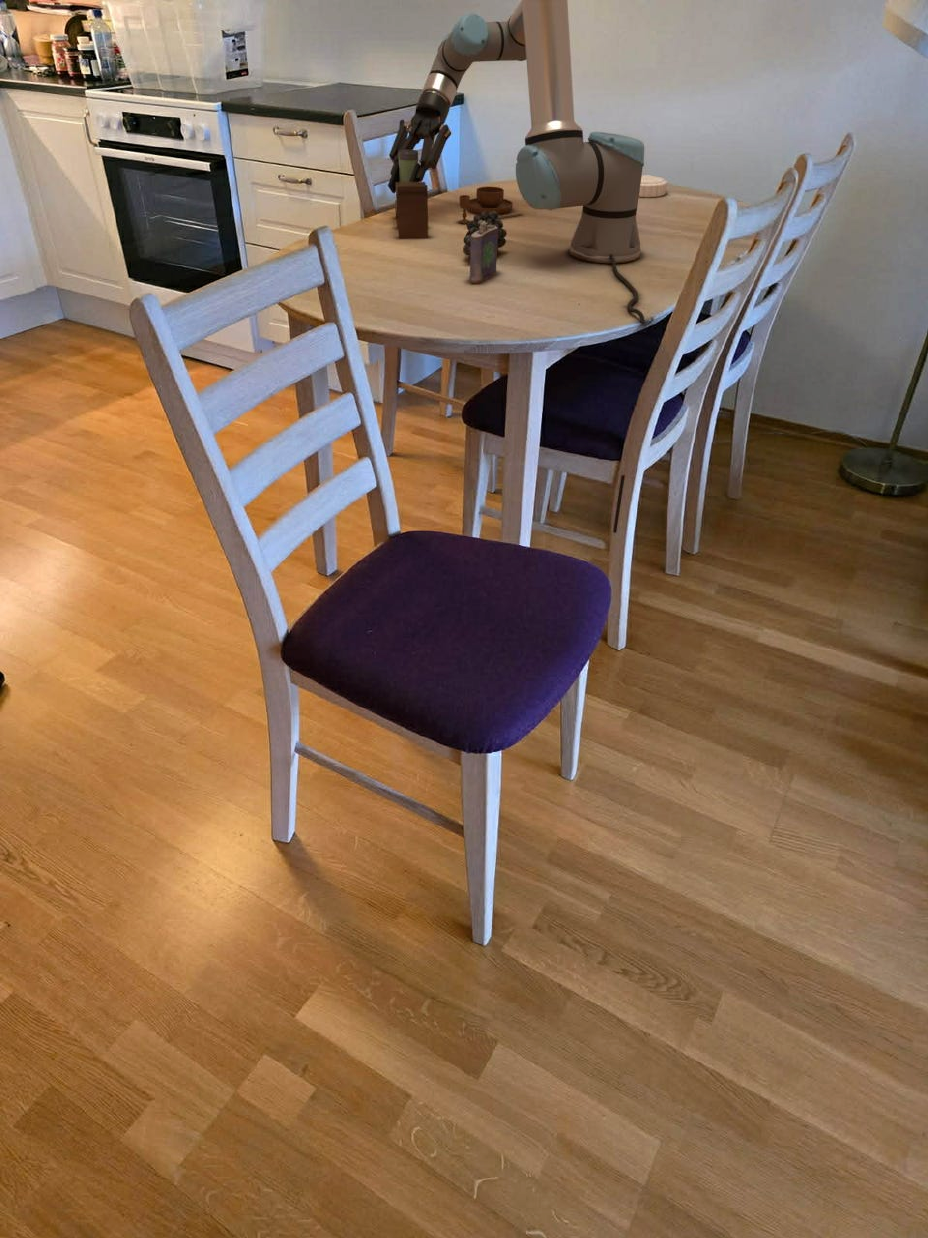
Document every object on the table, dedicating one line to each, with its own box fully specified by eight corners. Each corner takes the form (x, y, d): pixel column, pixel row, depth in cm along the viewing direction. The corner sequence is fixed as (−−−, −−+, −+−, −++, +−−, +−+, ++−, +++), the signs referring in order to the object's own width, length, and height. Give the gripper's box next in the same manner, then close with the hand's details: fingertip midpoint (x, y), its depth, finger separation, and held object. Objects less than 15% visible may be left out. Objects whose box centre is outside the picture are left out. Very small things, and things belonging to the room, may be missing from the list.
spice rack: (428, 237, 194) (427, 185, 187) (398, 238, 193) (397, 185, 186) (423, 217, 208) (422, 168, 201) (395, 217, 208) (394, 168, 201)
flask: (478, 284, 167) (479, 226, 160) (465, 282, 168) (465, 224, 162) (498, 272, 173) (501, 216, 167) (486, 270, 175) (488, 214, 168)
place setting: (529, 214, 212) (530, 188, 208) (464, 225, 203) (464, 198, 199) (489, 200, 223) (489, 175, 219) (425, 209, 214) (425, 184, 211)
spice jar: (419, 199, 201) (418, 152, 195) (400, 200, 201) (398, 153, 194) (418, 195, 205) (417, 149, 198) (399, 195, 204) (397, 149, 198)
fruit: (475, 220, 171) (505, 203, 181) (441, 229, 175) (472, 211, 185) (487, 263, 175) (515, 244, 185) (453, 271, 179) (483, 252, 190)
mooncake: (655, 199, 226) (657, 184, 224) (614, 193, 231) (616, 179, 229) (672, 191, 234) (674, 177, 232) (632, 185, 239) (634, 171, 237)
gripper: (473, 116, 200) (438, 205, 199) (410, 109, 206) (376, 195, 205) (462, 92, 193) (426, 184, 192) (398, 86, 199) (362, 175, 199)
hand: (400, 190), depth 199 cm, fingers closed on spice jar, 5 cm apart
